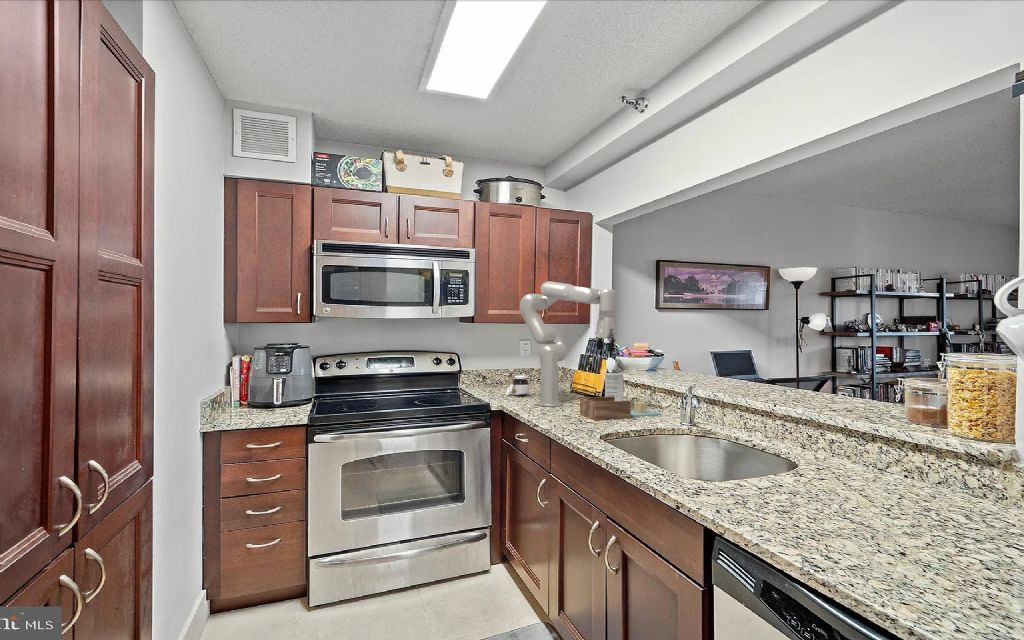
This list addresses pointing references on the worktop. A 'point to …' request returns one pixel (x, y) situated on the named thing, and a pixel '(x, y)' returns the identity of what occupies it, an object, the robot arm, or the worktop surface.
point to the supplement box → (614, 385)
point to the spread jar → (519, 386)
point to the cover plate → (648, 413)
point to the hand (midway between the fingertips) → (605, 350)
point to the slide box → (604, 408)
